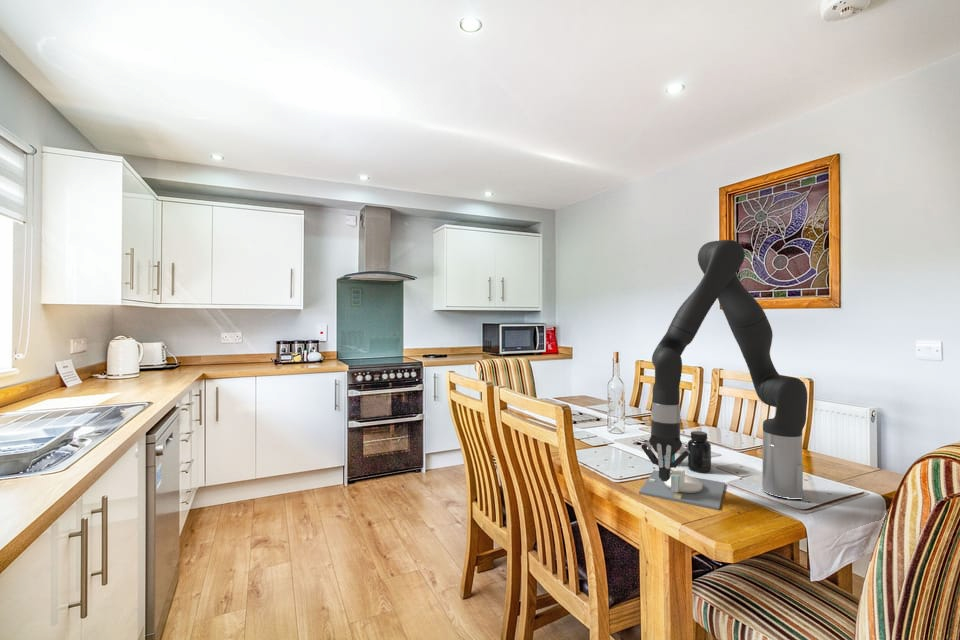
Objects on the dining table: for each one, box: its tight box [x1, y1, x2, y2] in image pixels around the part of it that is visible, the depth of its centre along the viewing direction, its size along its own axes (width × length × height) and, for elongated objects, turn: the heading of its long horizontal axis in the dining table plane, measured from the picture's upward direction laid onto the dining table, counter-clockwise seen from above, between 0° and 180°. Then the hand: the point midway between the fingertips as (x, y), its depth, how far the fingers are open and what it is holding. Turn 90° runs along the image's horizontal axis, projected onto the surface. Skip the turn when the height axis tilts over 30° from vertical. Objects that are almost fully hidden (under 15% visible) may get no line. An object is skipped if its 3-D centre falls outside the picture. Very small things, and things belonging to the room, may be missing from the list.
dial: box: [664, 467, 702, 493], centre depth 128 cm, size 14×10×6 cm
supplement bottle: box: [687, 430, 712, 474], centre depth 146 cm, size 7×7×12 cm
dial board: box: [638, 469, 726, 511], centre depth 130 cm, size 20×20×1 cm
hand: (664, 480), depth 126 cm, fingers closed
